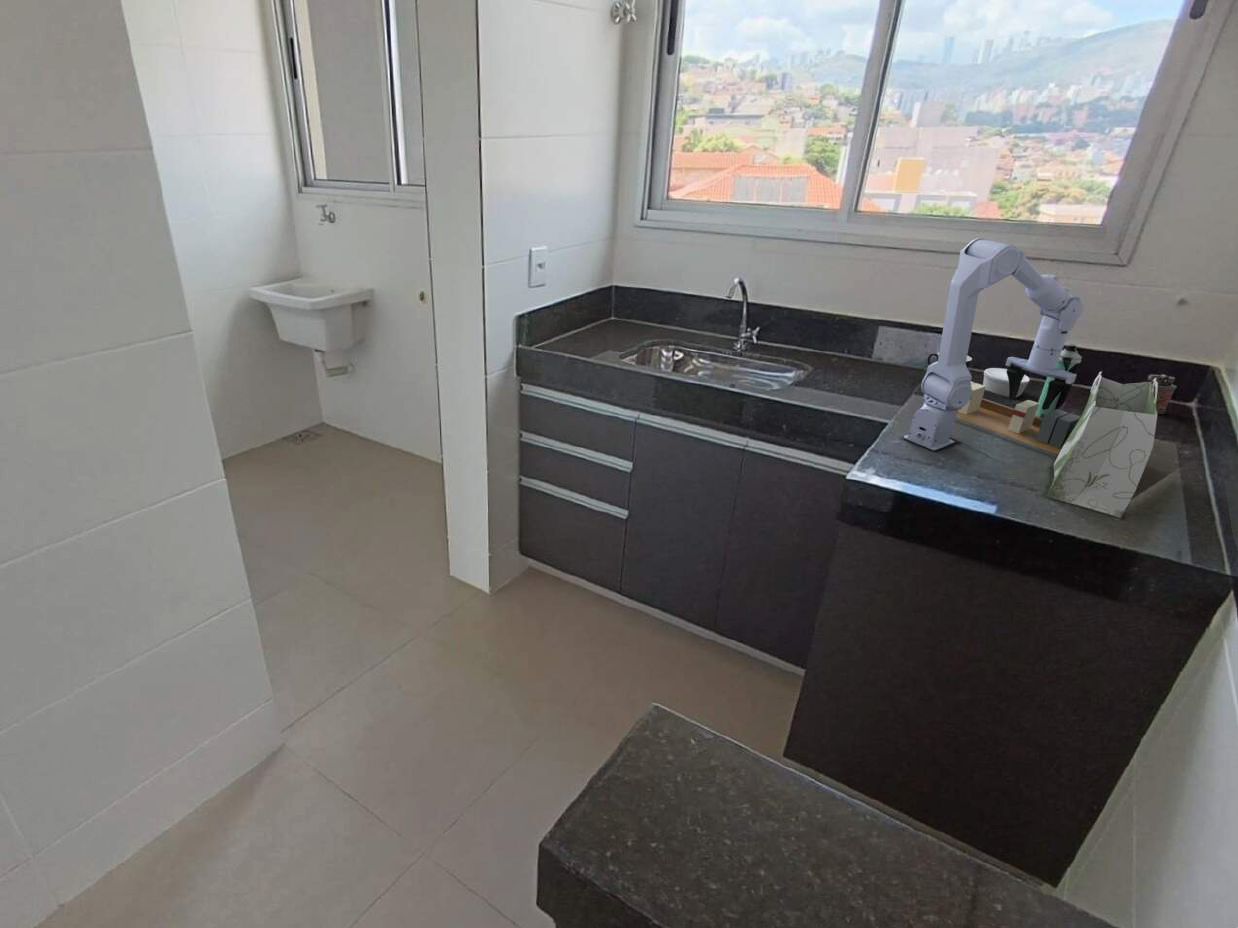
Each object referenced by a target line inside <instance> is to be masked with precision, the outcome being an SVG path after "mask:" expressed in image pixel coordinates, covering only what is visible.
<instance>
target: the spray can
mask: <svg viewBox="0 0 1238 928" xmlns="http://www.w3.org/2000/svg"><path fill="white" fill-rule="evenodd" d="M1078 352H1079V351H1078V350H1077V345H1076V344H1068V345H1067V347H1065V348H1063V349H1062V352H1061V355H1060V357H1059V360H1058V363H1057V366H1056V367H1057V368H1060V369H1062V370H1065V371H1067V372H1070V373H1073V374H1076V375H1077V373H1078V370H1079V367H1080V365H1081V363H1082V358H1083V356H1082V355H1080V354H1079V353H1078ZM1052 380H1055V379H1054V378H1050V377H1047V376H1046V379H1045V382H1044V385H1043V388H1042V391H1041V394H1040V396H1039V399H1038V402H1037V403H1040V404H1039V406H1038V409H1037V412H1036V415H1035V416H1038V417H1041V418H1044V416H1045V414H1046V413H1049V412H1051V411H1053V410H1056V409H1059V410H1062V411H1064V407H1065V405H1066V403H1067V400H1068V396H1069V394H1070V391H1071V389H1072V386H1073V384H1074V383H1072V384H1069V385H1068V386H1066V387H1065V388H1064V389H1063V390H1062V391H1061V392H1060V393H1059V394H1058V396H1057V397H1056V398H1055V399H1054V401H1053V402H1052V404H1051V405H1050V407H1049V409H1046V410H1043V409H1042V406H1043V403H1044V401H1045V398H1046V395H1047V391H1048V386H1049V381H1052Z"/></svg>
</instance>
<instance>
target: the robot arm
mask: <svg viewBox="0 0 1238 928" xmlns="http://www.w3.org/2000/svg"><path fill="white" fill-rule="evenodd" d="M1025 253H1026V252H1024V251H1022V250H1020V248H1019V247H1018V246H1016V245H1015V244H1006V243H1002V242H996V241H992V240H988V239H986V238H982V237H977V238H975V239H973V240H971V241H970V242H969V243H967V245H966V246H965V247H964V248H962V249H961V250H960V252H959V258H958V263H957V269H956V270H955V272H954V274H953V276H952V279H951V281H950V285H949V292H948V298H947V304H946V310H945V316H944V321H943V322H944V323H943V328H942V334H941V340H940V346H939V351H938V352H939V358H938V361H937V362H936V361H935V362H933V363H930V364H931V365H928V366H927V370H926V372H925V375H924V377H923V378H922V381H921V385H920V389H921V392H922V393H923V399H924V402H923V405H922V406H921V408H919V409H918V410H916V411H915V412H914V414H913V416H912V419H911V423H910V427H909V430H908V434H906V435H904V436H903V439H904V440H907V441H910V442H912V443H915V444H917V445H918V446H919V445H920V446H922V447H924V448H927V449H929V450H932V451H938V450H940V449H943V448H945V447H948V446H949V445H952V444H953V445H954V444H955V443H957V442H958V439H955V438H953V437H951V436H952V433H953V429H954V426H955V423H956V419H957V418H956V416H957V413H958V410H959V409H961V408H962V407H964V406H965V405H966V404H967V403H968V402H969V400H970V398H971V396H972V387H971V382H972V377H973V376H972V374H971V372H970V370H969V367H968V368H967V367H966V359H967V356H968V354H969V353H968V352H969V348H970V342H971V337H972V332H973V326H974V321H975V316H976V315H975V314H976V310H977V304H978V299H979V294H980V293H981V292H982V291H983V290H984V289H988V288H989V287H992V286H993V285H995V284H997V283H999V282H1001V281H1003V280H1004V279H1007V278H1008V277H1009V276H1012V277H1013V278H1014V279H1015V280H1017V281H1018V282H1019V283H1021V285H1023V286H1024V287H1026V288H1025V295H1026V297H1027V298H1028V299H1029V300H1031V301H1032V302H1033V304H1035V305H1036V306H1037V307H1038V312H1039V314H1040V315H1041V316H1043V317H1042V319H1041V322H1040V325H1039V327H1038V331H1037V333H1036V337H1035V339H1034V343H1033V346H1032V348H1031V351H1030V354H1029V358H1028V359H1025V358H1021V357H1020V358H1019V357H1015V356H1009V357H1007V359H1006V362H1005V366H1006V367H1008V368H1006V369H1007V372H1006V373H1007V376H1008V380H1009V397H1008V399H1009V400H1013V399H1017V398H1016V396H1017V393H1018V390H1019V387H1020V384H1021V381H1022V379H1023V377H1024V375H1026V373H1027V372H1029V373H1034V374H1036V375H1040V376H1043V377H1046V378H1047V377H1050V378H1054V379H1055V380H1052V381H1049V386H1048V391H1047V395H1046V398H1045V401H1044V403H1043V406H1042V409H1043V410H1046V409H1049V407H1050V405H1051V404H1052V402H1053V401H1054V399H1055V398H1056V397H1057V396H1058V394H1059V393H1060V392H1061V391H1062V390H1063V389H1064V388H1065V387H1066V386H1068V385H1069V384H1072V383H1073V384H1074V383H1075V381H1076V378H1077V376H1078V374H1077V373H1076V374H1073V373H1070V372H1067V371H1065V370H1062V369H1060V368H1057V367H1056V366H1057V363H1058V360H1059V357H1060V355H1061V352H1062V351H1063V350H1064V346H1065V344H1066V341H1067V338H1068V335H1069V332H1070V331H1072V329H1074V326H1075V324H1076V322H1077V321H1078V320H1079V319H1080V318H1081V316H1082V315H1083V313H1084V304H1083V301H1082V300H1081V298H1079V297H1078V296H1076V295H1071V293H1070V289H1069V288H1068V287H1065V286H1062V284H1060V283H1059V282H1058V280H1059V277H1058V276H1056V275H1054V274H1047V273H1046V274H1041V273H1040V271H1038V269H1037V268H1036V267H1035V266H1034V265H1033V264H1032V263H1031V261H1030V260H1029V259H1028V258H1027V257H1026V254H1025ZM1073 384H1072V385H1073Z"/></svg>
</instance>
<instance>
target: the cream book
mask: <svg viewBox="0 0 1238 928" xmlns="http://www.w3.org/2000/svg"><path fill="white" fill-rule="evenodd" d="M1039 404H1040V403H1038V402H1036V401H1034V400H1030V399H1027V400H1024V401H1021V402H1019V403H1017V404H1015V406H1014V409H1015V410H1014V412H1013V416H1012V419H1011V422H1010V425H1009V427H1008V430H1010V431H1013V432H1016V433H1018V434H1019V433H1021V432H1023V431H1026V430H1028V429H1030V428H1031V426H1032V423H1033V420H1034V418H1035V415H1036V412H1037V409H1038V406H1039Z"/></svg>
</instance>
